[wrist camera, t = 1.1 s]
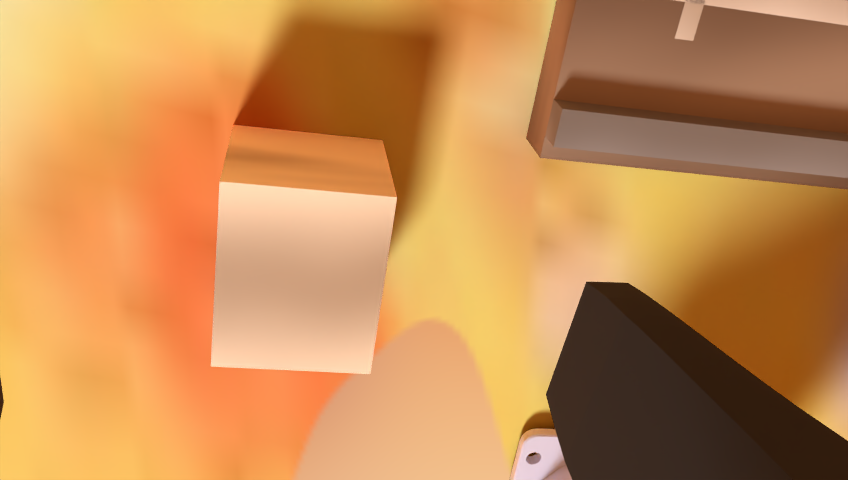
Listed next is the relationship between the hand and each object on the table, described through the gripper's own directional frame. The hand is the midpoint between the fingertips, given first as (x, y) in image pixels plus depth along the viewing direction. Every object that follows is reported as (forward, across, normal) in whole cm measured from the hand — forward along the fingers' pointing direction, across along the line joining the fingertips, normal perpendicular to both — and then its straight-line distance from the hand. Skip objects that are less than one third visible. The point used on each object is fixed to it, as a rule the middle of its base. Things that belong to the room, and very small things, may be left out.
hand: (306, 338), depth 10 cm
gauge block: (+12, -1, +6) cm, 13 cm away
